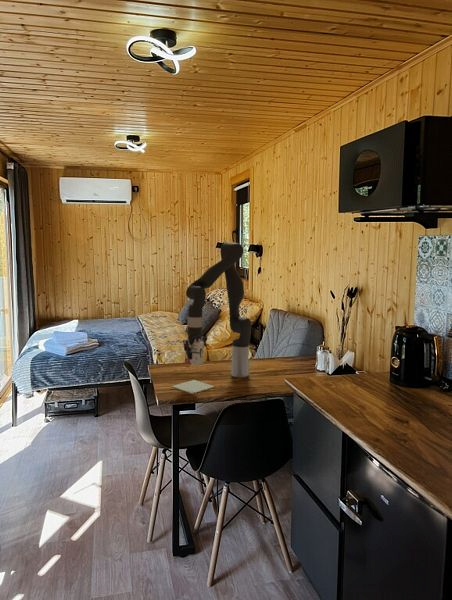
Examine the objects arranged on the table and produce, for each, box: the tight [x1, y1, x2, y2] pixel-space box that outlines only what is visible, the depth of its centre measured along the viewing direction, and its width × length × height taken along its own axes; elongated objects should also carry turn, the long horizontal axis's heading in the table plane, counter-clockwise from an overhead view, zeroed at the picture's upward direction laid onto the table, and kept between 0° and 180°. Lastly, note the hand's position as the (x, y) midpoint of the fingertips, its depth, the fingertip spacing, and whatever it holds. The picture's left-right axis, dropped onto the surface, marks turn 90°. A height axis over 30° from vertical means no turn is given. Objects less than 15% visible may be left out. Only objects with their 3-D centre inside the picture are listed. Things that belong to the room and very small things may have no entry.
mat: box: [171, 379, 215, 395], centre depth 239 cm, size 16×15×1 cm
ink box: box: [184, 341, 205, 367], centre depth 237 cm, size 9×5×12 cm, turn 58°
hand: (194, 358), depth 237 cm, fingers closed on ink box, 5 cm apart
